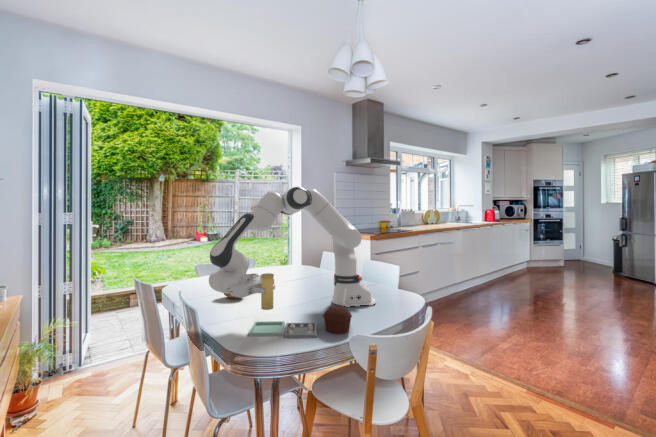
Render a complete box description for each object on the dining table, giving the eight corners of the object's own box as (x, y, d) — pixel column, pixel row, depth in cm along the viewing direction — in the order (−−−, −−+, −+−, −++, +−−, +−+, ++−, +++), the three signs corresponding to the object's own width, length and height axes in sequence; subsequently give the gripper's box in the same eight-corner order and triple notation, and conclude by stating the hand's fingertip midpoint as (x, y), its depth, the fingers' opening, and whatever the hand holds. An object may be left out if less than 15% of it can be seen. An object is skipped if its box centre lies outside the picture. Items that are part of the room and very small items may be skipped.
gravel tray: (316, 327, 130) (316, 321, 130) (316, 340, 118) (316, 333, 118) (286, 328, 130) (286, 322, 129) (283, 340, 118) (283, 334, 118)
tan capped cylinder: (274, 306, 127) (274, 273, 127) (272, 310, 123) (272, 276, 122) (262, 306, 127) (262, 273, 127) (259, 310, 122) (259, 276, 122)
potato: (243, 301, 165) (243, 286, 165) (218, 299, 168) (218, 284, 168) (251, 296, 175) (251, 281, 174) (227, 294, 178) (227, 280, 177)
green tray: (284, 326, 132) (284, 321, 131) (281, 338, 120) (281, 332, 119) (255, 326, 131) (255, 321, 131) (248, 338, 119) (248, 333, 119)
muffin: (327, 325, 133) (328, 301, 132) (354, 328, 129) (354, 303, 129) (318, 336, 121) (318, 310, 121) (347, 340, 118) (347, 313, 118)
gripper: (222, 282, 121) (250, 286, 115) (258, 272, 139) (284, 276, 133) (222, 298, 122) (250, 304, 115) (258, 287, 140) (284, 291, 133)
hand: (269, 289), depth 124 cm, fingers closed on tan capped cylinder, 5 cm apart
